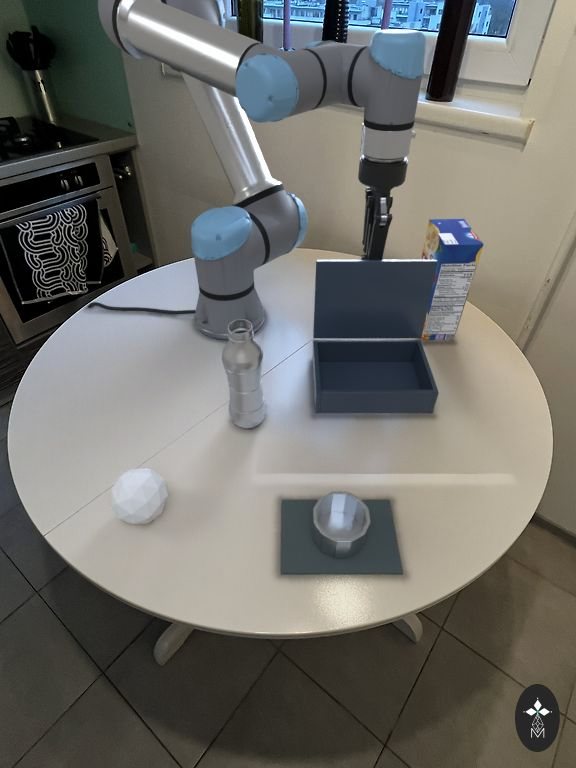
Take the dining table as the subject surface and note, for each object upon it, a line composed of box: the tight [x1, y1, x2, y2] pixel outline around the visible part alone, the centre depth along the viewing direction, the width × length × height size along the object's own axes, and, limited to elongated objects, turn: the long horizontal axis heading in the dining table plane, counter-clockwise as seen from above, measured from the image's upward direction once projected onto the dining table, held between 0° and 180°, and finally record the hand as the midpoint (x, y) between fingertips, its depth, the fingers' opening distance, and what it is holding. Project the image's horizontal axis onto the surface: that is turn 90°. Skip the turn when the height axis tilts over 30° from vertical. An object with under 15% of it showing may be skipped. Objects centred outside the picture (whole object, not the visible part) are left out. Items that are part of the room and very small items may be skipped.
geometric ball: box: [109, 467, 169, 525], centre depth 64 cm, size 8×8×8 cm
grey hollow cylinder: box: [312, 490, 370, 558], centre depth 61 cm, size 7×7×5 cm
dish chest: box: [311, 339, 440, 414], centre depth 83 cm, size 15×21×6 cm
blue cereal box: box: [420, 218, 485, 342], centre depth 91 cm, size 7×11×22 cm, turn 2°
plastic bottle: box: [221, 319, 268, 429], centre depth 72 cm, size 6×7×20 cm
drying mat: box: [280, 499, 404, 575], centre depth 63 cm, size 16×11×1 cm
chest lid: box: [312, 259, 438, 339], centre depth 81 cm, size 15×21×1 cm
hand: (367, 287), depth 87 cm, fingers closed
